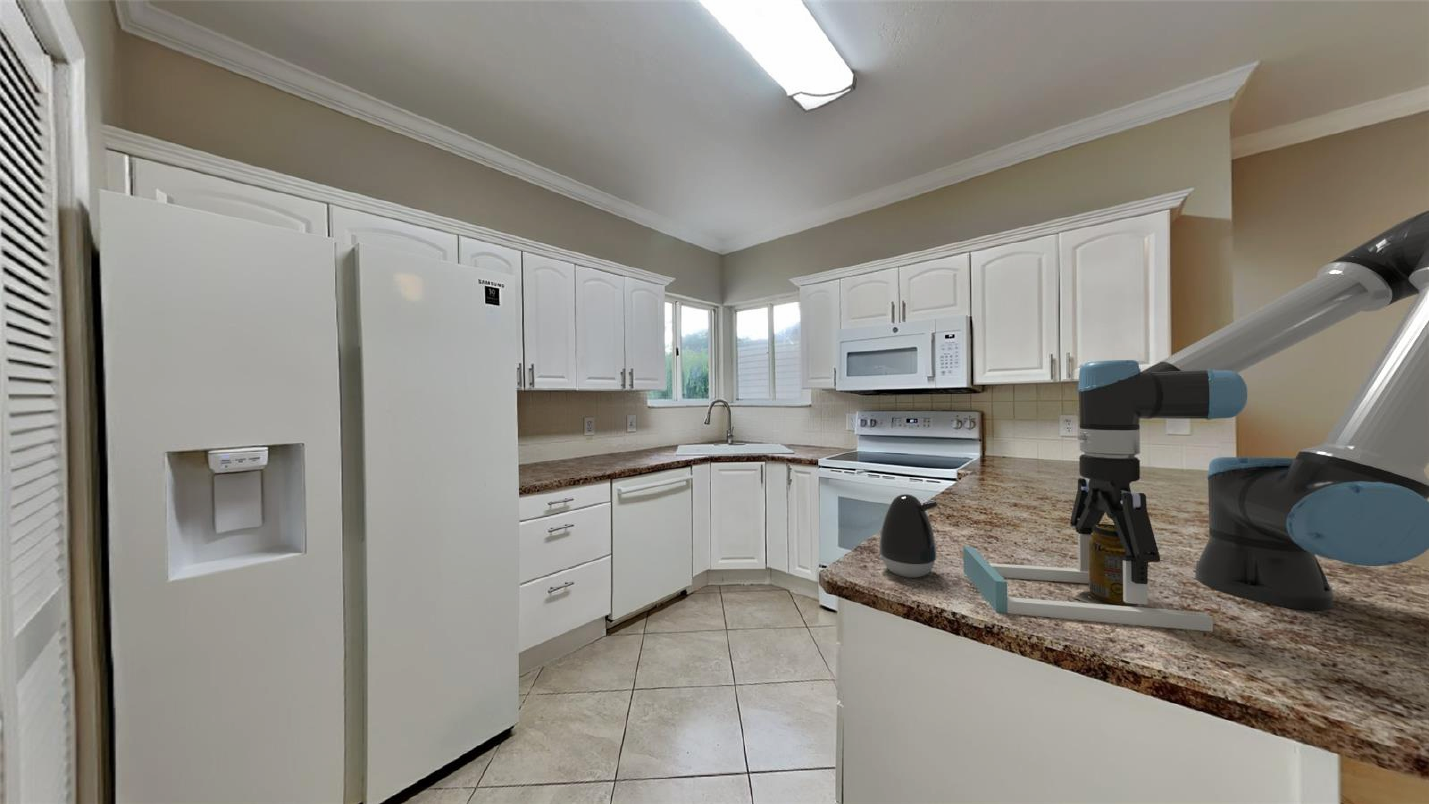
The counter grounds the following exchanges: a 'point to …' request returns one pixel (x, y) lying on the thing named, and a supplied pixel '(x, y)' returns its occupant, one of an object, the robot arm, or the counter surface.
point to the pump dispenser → (908, 537)
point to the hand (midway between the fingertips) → (1109, 585)
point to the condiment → (1105, 568)
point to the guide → (995, 593)
